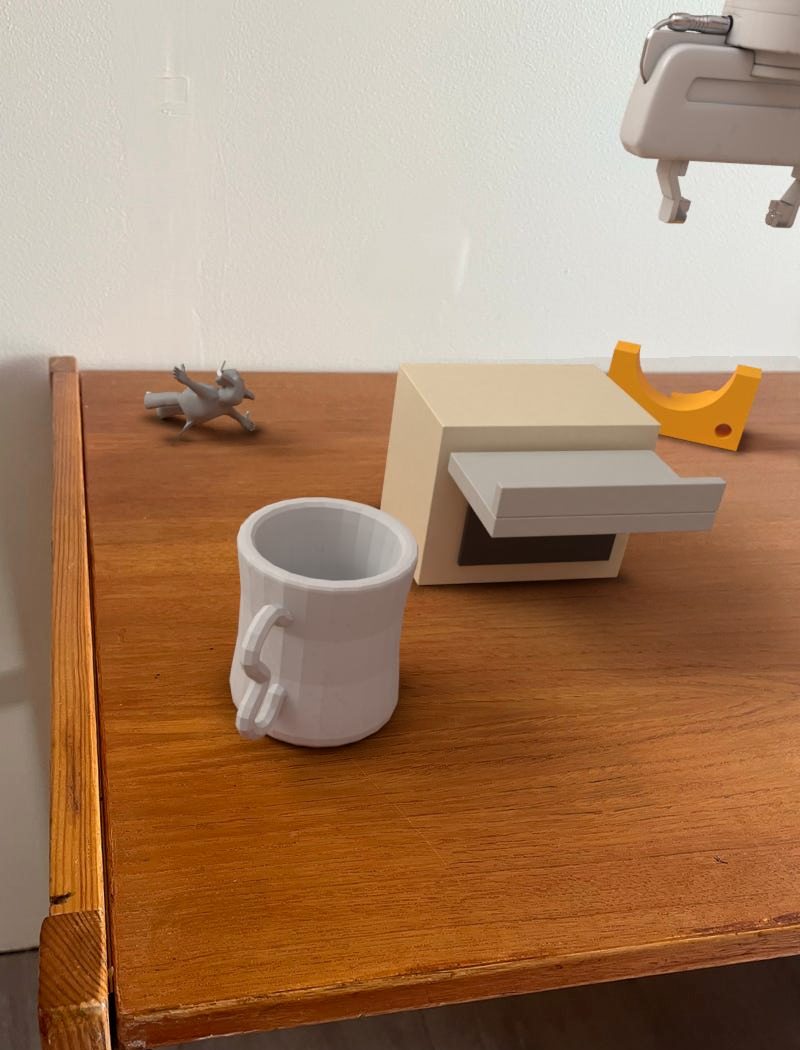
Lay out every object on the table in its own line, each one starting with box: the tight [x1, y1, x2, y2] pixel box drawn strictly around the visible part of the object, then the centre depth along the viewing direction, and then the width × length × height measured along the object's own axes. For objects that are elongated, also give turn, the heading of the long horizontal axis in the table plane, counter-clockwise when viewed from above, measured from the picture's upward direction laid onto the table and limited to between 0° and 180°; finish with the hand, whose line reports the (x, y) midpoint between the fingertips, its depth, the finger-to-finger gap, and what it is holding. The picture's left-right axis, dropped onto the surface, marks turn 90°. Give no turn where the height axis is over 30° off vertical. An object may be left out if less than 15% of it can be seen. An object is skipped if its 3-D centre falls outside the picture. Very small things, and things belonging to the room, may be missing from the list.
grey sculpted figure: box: [143, 360, 256, 440], centre depth 81 cm, size 10×6×9 cm
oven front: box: [379, 362, 728, 586], centre depth 65 cm, size 14×18×11 cm
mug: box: [229, 496, 419, 748], centre depth 52 cm, size 12×9×10 cm
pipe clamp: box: [607, 340, 763, 452], centre depth 90 cm, size 12×4×6 cm, turn 68°
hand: (724, 224), depth 81 cm, fingers open, 8 cm apart
